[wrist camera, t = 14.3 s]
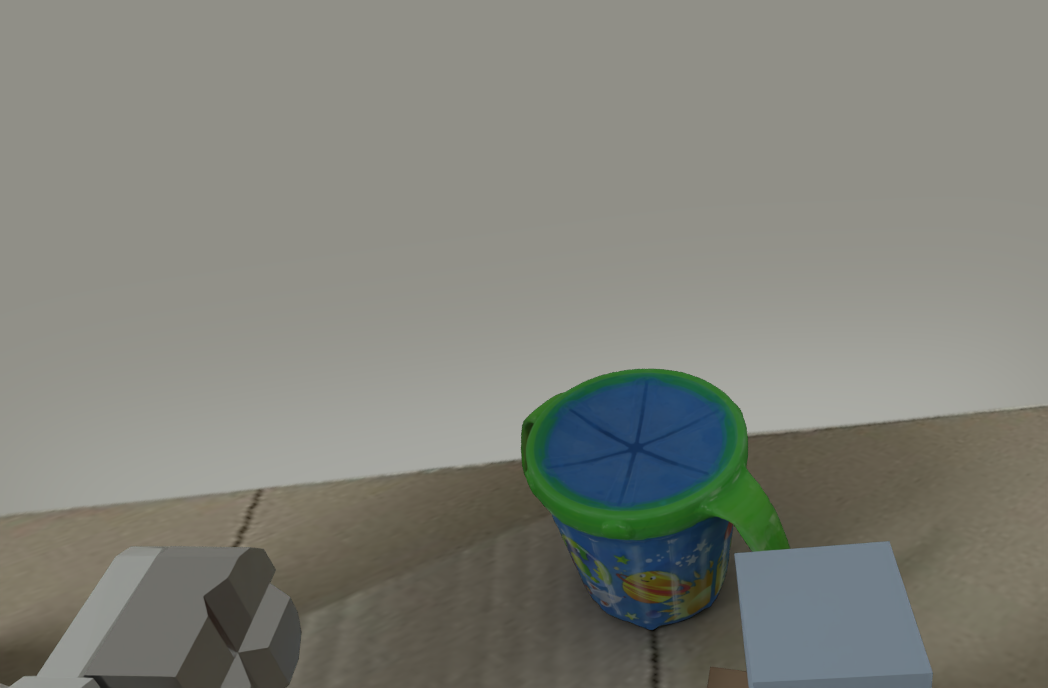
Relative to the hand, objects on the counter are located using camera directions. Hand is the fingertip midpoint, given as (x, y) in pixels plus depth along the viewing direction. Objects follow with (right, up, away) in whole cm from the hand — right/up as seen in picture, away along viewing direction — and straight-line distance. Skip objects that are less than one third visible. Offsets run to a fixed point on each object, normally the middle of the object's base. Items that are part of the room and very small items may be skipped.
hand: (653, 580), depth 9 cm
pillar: (+10, -15, +26) cm, 31 cm away
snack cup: (+6, -10, +40) cm, 42 cm away
